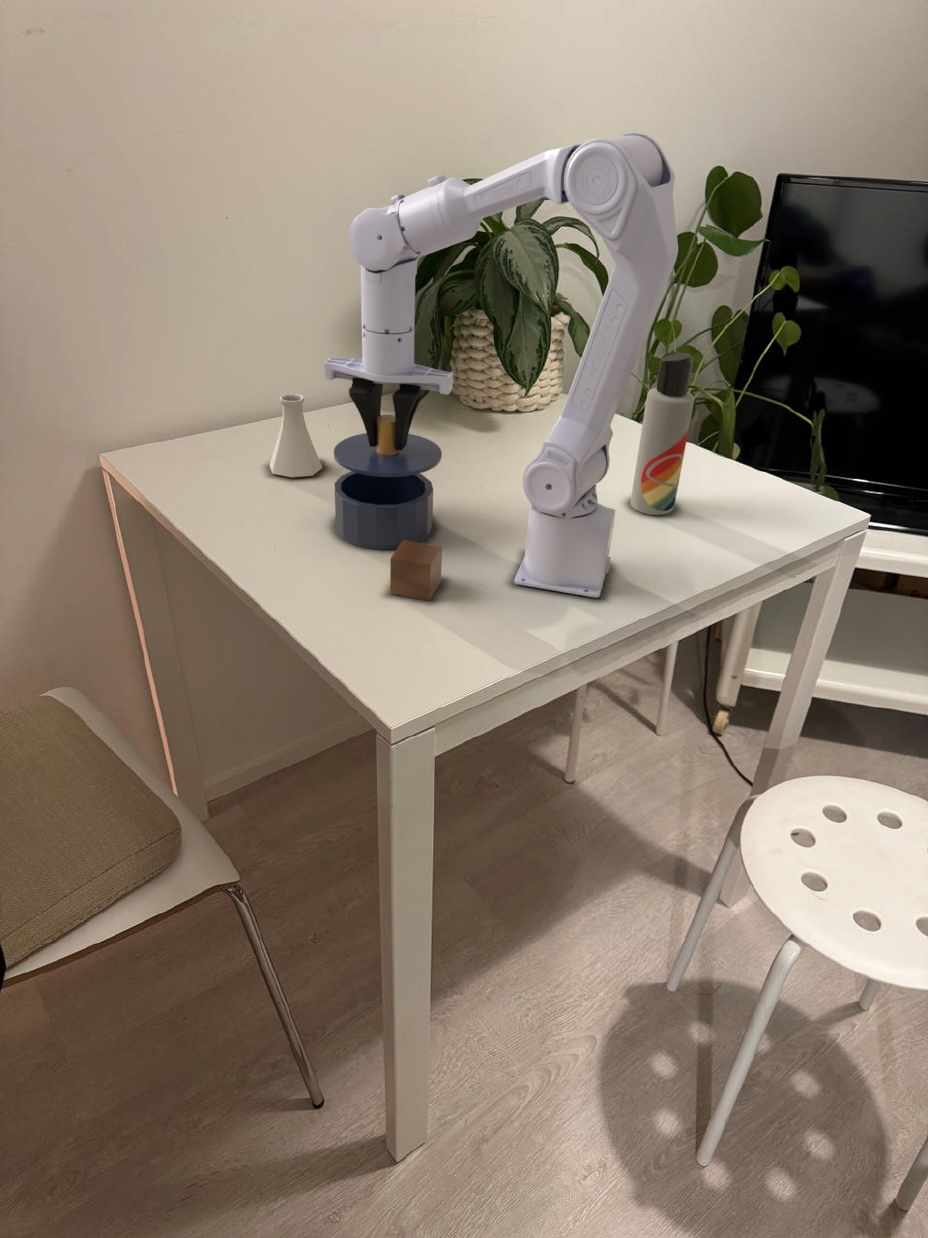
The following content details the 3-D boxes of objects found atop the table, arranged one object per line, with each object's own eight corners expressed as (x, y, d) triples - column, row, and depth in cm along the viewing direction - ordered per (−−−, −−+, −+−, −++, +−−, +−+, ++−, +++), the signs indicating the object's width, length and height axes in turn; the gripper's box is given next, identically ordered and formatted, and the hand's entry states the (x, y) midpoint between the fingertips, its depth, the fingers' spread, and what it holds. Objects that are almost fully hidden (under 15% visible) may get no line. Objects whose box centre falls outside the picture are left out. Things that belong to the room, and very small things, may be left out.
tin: (442, 514, 114) (444, 474, 111) (415, 556, 104) (415, 514, 102) (355, 500, 116) (355, 461, 113) (321, 540, 107) (319, 498, 104)
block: (440, 581, 100) (442, 546, 98) (429, 601, 96) (430, 564, 94) (402, 574, 101) (403, 539, 98) (390, 594, 97) (390, 558, 95)
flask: (318, 480, 121) (315, 408, 115) (264, 477, 121) (258, 405, 115) (326, 459, 127) (323, 389, 122) (274, 456, 127) (269, 386, 121)
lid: (453, 448, 110) (455, 407, 108) (423, 488, 100) (424, 445, 97) (356, 434, 113) (355, 394, 110) (317, 472, 102) (315, 429, 100)
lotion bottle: (673, 518, 116) (702, 363, 105) (628, 512, 117) (653, 358, 106) (673, 500, 121) (701, 350, 110) (631, 494, 122) (654, 345, 111)
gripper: (462, 325, 100) (457, 441, 107) (338, 311, 103) (342, 425, 110) (445, 341, 94) (441, 463, 102) (314, 326, 97) (319, 446, 104)
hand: (388, 445), depth 105 cm, fingers closed on lid, 2 cm apart
